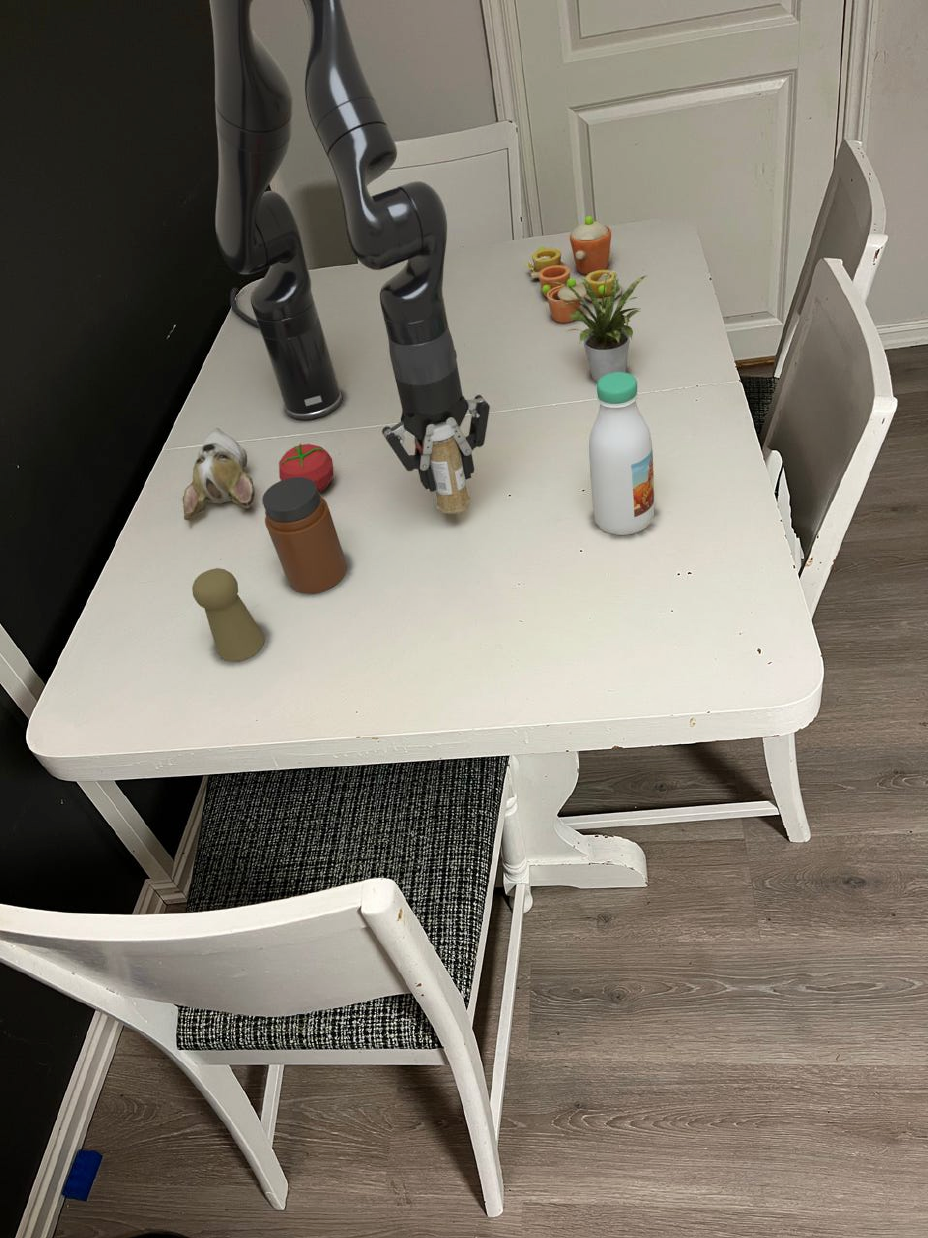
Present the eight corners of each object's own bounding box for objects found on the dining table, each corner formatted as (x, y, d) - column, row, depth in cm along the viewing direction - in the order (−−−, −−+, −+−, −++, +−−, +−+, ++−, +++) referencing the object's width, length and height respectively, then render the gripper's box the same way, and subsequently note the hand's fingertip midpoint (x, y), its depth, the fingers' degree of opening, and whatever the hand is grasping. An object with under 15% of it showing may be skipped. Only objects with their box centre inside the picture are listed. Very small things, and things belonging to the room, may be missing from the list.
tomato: (340, 498, 135) (326, 453, 130) (287, 510, 135) (271, 466, 130) (336, 467, 141) (323, 423, 136) (285, 479, 141) (270, 436, 136)
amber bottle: (282, 566, 126) (251, 487, 118) (338, 545, 128) (312, 466, 119) (295, 601, 121) (264, 522, 112) (354, 580, 122) (328, 499, 113)
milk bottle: (616, 545, 119) (607, 407, 105) (582, 514, 124) (570, 380, 110) (666, 520, 120) (664, 381, 107) (631, 491, 126) (625, 356, 112)
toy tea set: (525, 267, 180) (519, 216, 173) (606, 252, 179) (603, 200, 172) (545, 331, 161) (539, 277, 154) (636, 314, 160) (634, 258, 153)
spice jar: (477, 504, 125) (461, 417, 115) (448, 520, 123) (430, 433, 114) (458, 489, 128) (441, 403, 118) (429, 504, 126) (411, 418, 117)
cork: (219, 631, 119) (188, 565, 111) (266, 622, 119) (237, 556, 111) (214, 665, 115) (181, 600, 107) (263, 657, 114) (233, 590, 107)
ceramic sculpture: (246, 411, 140) (238, 474, 129) (265, 457, 146) (259, 521, 136) (177, 424, 140) (163, 488, 130) (198, 470, 147) (187, 534, 136)
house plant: (542, 397, 146) (530, 297, 135) (569, 351, 155) (560, 254, 143) (633, 403, 141) (629, 300, 129) (656, 355, 149) (653, 255, 138)
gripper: (469, 333, 115) (488, 450, 127) (359, 369, 113) (388, 485, 125) (492, 359, 109) (510, 479, 121) (376, 398, 107) (406, 516, 119)
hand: (448, 481), depth 123 cm, fingers closed on spice jar, 4 cm apart
